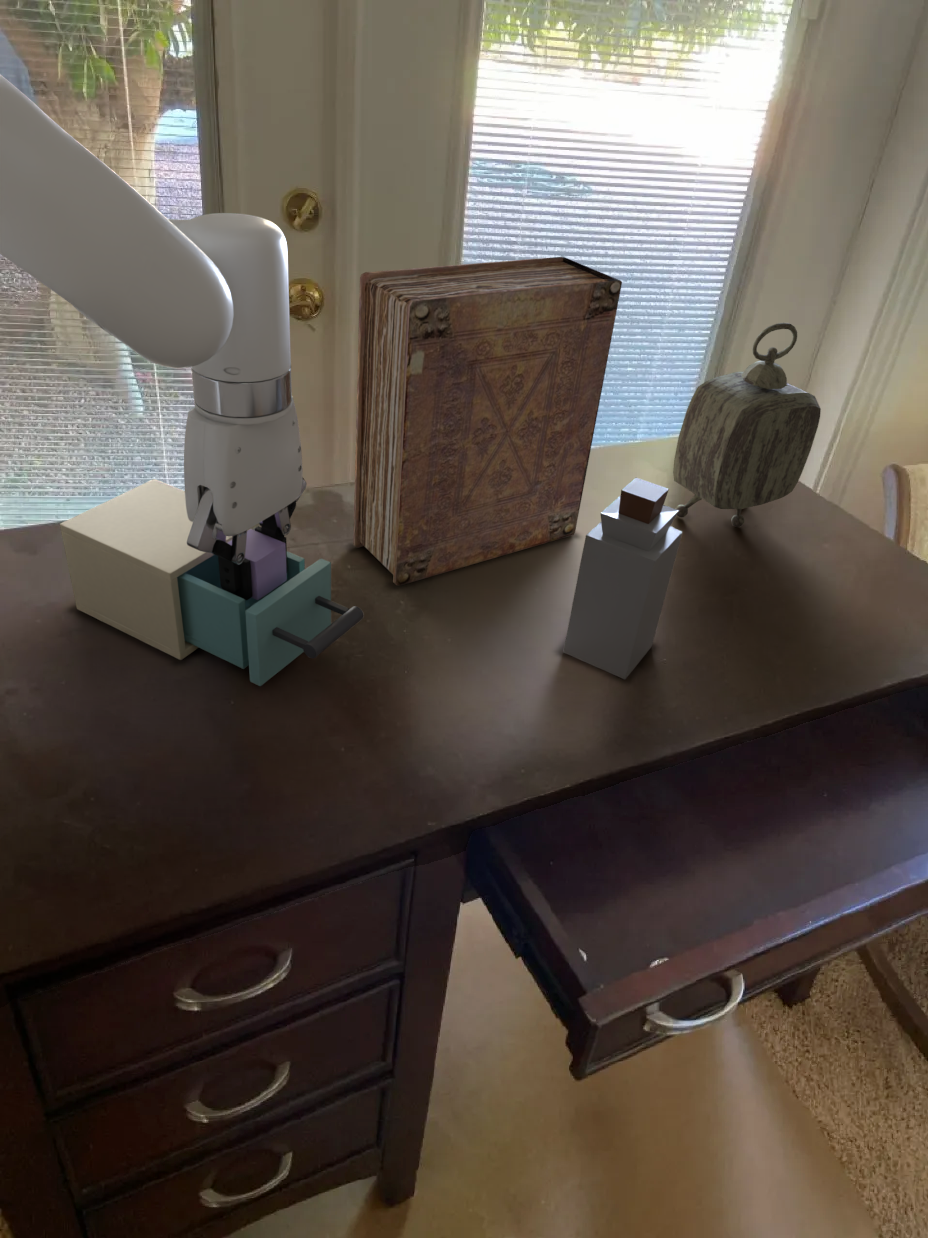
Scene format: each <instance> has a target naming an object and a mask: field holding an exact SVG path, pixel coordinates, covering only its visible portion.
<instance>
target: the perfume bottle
mask: <svg viewBox="0 0 928 1238" xmlns="http://www.w3.org/2000/svg"><path fill="white" fill-rule="evenodd" d="M669 490H670V489H669V488H668V487H665V486H663V485H660V484H657V483H653V482H651V481H648V480H644V479H642V478H640V477H634V478H633V479H632V480H631V481H630V482H629V483H627V484H626V485H625V486H624V487H623V488H622V489H621V490H620V495H619V496H618V497H617V498H615V500H613V501H612V502H611V503H610V504H609V505H607V506H606V507H605V508H604V509H603V510H602V511H600V522H598V523H597V525H596V526H594V528H592V529H591V530H590V531H588V533H586V535H585V539H584V542H583V543H584V544H583V547H582V553H581V559H580V564H579V569H578V574H577V579H576V584H575V590H574V595H573V600H572V604H571V610H570V615H569V620H568V625H567V630H566V635H565V641H564V645H563V649H562V651H563V654H566V655H567V656H568V655H569V656H570V657H573V658H574V659H577V660H579V661H582V662H584V663H586V664H587V665H590V666H593V667H595V668H598V669H599V670H602V671H604V672H607V673H609V674H611V675H612V676H613V675H614V676H615V677H617V678H618V677H619V678H621V679H623V680H626V679H627V678H628V676H629V675H630V674H631V673H632V672H633V671H634V670H635V668H636V667H637V665H638V664H639V663H640V662H641V660H642V659H644V657H645V655H646V654H647V653H648V652H649V651H650V650H651V648H652V647H653V644H654V641H655V636H656V632H657V629H658V625H659V622H660V618H661V614H662V610H663V607H664V603H665V599H666V596H667V592H668V587H669V584H670V581H671V577H672V573H673V569H674V566H675V561H676V559H677V556H678V555H677V554H678V551H679V547H680V543H681V540H682V536H683V533H684V531H683V530H680V529H677V528H675V527H673V526H672V524H673V522H674V520H675V519H676V517H677V513H678V511H679V510H676V508H673V507H671V506H668V505H665V502H666V499H667V496H668V493H669Z"/></svg>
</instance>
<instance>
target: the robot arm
mask: <svg viewBox="0 0 928 1238" xmlns="http://www.w3.org/2000/svg"><path fill="white" fill-rule="evenodd" d="M0 255H1V256H2V257H4V258H5V259H7V260H8V261H10V262H11V263H13V264H14V265H16V267H18V268H20V269H21V270H22V271H24V272H26V273H27V274H28V275H30V276H31V277H32V278H34V279H36V280H37V281H38V282H40V284H42V285H44V286H46V287H47V288H48V289H50V290H51V291H52V292H54V293H55V294H56V295H58V296H59V297H61V298H62V299H63V300H65V301H66V302H67V303H68V304H70V305H72V306H73V308H74V309H75V310H76V311H78V312H79V313H80V314H81V315H82V316H83V317H85V318H86V319H87V320H88V321H90V322H92V323H93V324H95V325H96V326H97V327H99V328H100V329H102V330H103V331H104V332H106V333H107V334H109V335H111V336H113V337H114V338H115V339H117V340H118V341H119V342H121V343H122V344H124V345H125V346H126V347H127V348H129V349H130V350H132V351H133V352H135V353H136V355H138V356H140V357H141V358H143V359H144V360H146V361H147V362H150V363H152V364H154V365H158V366H160V367H164V368H171V369H187V368H190V371H191V382H192V383H191V384H192V392H193V393H192V394H193V402H194V407H193V408H192V409H190V410H189V411H188V412H187V417H186V424H185V431H184V444H183V477H184V478H183V481H184V482H183V485H184V491H185V501H186V510H187V516H188V519H189V520H190V521H191V522H193V524H192V527H191V530H190V533H189V536H188V539H187V545H188V546H190V547H192V548H194V549H197V550H199V551H203V552H208V553H212V554H214V555H216V556H218V562H219V573H220V585H221V588H222V589H223V590H225V591H227V592H230V593H232V594H234V595H236V596H238V597H241V598H243V599H244V600H248V599H250V598H251V597H252V578H251V563H250V560H248V559H246V558H245V552H246V539H247V530H248V529H249V528H251V527H253V526H255V525H256V524H258V523H259V526H258V527H256V528H255V531H257V532H259V533H262V534H264V535H267V536H269V537H271V538H274V539H276V540H279V541H281V542H284V543H285V546H286V573H287V552H288V547H287V546H288V545H287V537H286V536H287V535H288V534H289V533H290V532H291V529H292V525H291V524H292V523H291V518H292V516H293V513H294V512H295V510H296V507H297V503H298V501H299V500H300V498H301V497H302V495H303V493H304V492H305V490H306V488H307V481H306V480H305V478H304V477H303V452H302V440H301V439H302V438H301V432H300V425H299V418H298V413H297V408H296V405H295V400H294V396H293V395H292V394H293V393H292V362H291V361H292V360H291V359H292V357H291V356H292V355H291V326H290V325H291V324H290V323H291V322H290V320H291V319H290V294H289V293H290V291H289V287H290V286H289V255H288V244H287V239H286V236H285V234H284V232H283V230H282V229H281V228H280V227H279V226H278V225H277V224H275V222H273V221H271V220H270V219H269V220H268V219H266V218H264V217H261V216H257V215H252V214H246V213H237V212H236V213H235V212H219V213H218V212H215V213H206V214H202V215H198V216H196V217H193V218H189V219H177V218H176V219H175V218H174V219H173V218H168V217H166V216H165V215H164V214H163V213H162V212H160V211H159V210H158V208H156V207H155V206H154V205H153V204H152V203H151V202H149V200H147V199H146V198H145V197H144V196H143V195H141V194H140V192H138V191H137V190H136V189H135V188H134V187H132V186H131V185H130V183H128V182H127V181H126V180H125V179H123V178H122V177H121V176H120V175H119V174H118V173H116V172H115V171H114V170H113V169H112V168H110V167H109V166H108V165H107V164H106V163H105V162H103V161H102V159H100V158H98V157H97V156H96V155H95V154H94V153H92V152H91V151H90V150H89V149H87V148H86V147H85V146H84V145H83V144H82V143H80V142H79V141H78V140H77V139H75V137H73V136H72V135H71V133H69V132H67V131H66V130H65V129H64V128H62V127H61V126H60V125H59V124H58V123H57V122H56V121H54V120H53V118H51V117H50V116H49V115H48V114H47V113H45V111H44V110H42V109H41V108H40V106H38V105H37V104H36V103H35V102H34V101H33V100H32V99H30V98H29V97H28V96H27V95H26V94H25V93H23V92H22V90H21V89H19V88H18V87H17V86H16V85H14V84H13V83H12V82H11V81H10V80H8V79H7V78H6V77H4V76H3V75H2V74H1V73H0ZM226 536H232V546H231V545H230V544H228V543H226Z"/></svg>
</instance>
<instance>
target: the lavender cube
mask: <svg viewBox="0 0 928 1238" xmlns="http://www.w3.org/2000/svg"><path fill="white" fill-rule="evenodd" d="M228 544H230V545H231V546H232V540H231V541H230V542H228ZM245 558H246V559H248V560H250V563H251V578H252V598H254V599H256V600H259V599H261V598H262V597H263V596H265V595H266V594H268V593H269V592H271V591H272V590H274V589H275V588H276V587H278V586H279V585H281V584H282V583H284V582H285V581H286V580H287V573H286V546H285V543H284V542H281V541H279V540H276V539H274V538H271V537H269V536H267V535H264V534H262V533H259V532H257V531H254V530H252V529H250V530H248V531H247V539H246V552H245Z"/></svg>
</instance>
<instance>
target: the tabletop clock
mask: <svg viewBox="0 0 928 1238" xmlns="http://www.w3.org/2000/svg"><path fill="white" fill-rule="evenodd" d="M778 330H788V331H790V332H791V335H792V339H791V342H790V344H789V345H788V346H787V347H785V348H784V349H783V350H781V351H779V352H778V349H777V348H776V347H774V346H772V347H769V348H768V349H767V352H766V354H762V353H759V352H758V346H759V344H760V342H761V341H762V340H763V339H764V338H765V337H766V335H768V334H770V333H771V332H774V331H778ZM797 340H798V330H797V329H796V327H795V326H794V325H793V324H792V323H789V322H779V323H775V324H772V325H769V326H767V327H766V328H765V329H763V330H762V331H761V332H760V333H759V334H758V335H757V337H756V338H755V340H754V342H753V344H752V355H753V356H754V358H755V359H757V361H755V362H753V363H751V364H750V365H748V366H747V367H746V368H745V369H744V370H743V371H735V372H731V373H727V374H724V375H720V376H716V377H712V378H710V379H708V380H706V381H704V382H703V383H701V384H700V385H698V386H697V388H696V390H695V391H694V393H693V395H692V396H691V399H690V401H689V404H688V406H687V409H686V411H685V415H684V418H683V421H682V425H681V428H680V431H679V434H678V437H677V443H676V448H675V455H674V459H673V468H672V474H673V475H672V476H673V481H674V482H675V483H677V484H678V485H680V486H682V487H683V488H684V489H686V490H687V491H689V492H691V493H692V494H693V496H692V497H691V499H689V501H687V503H685V504H678V505H677V506H676V507H675V509H676V510H679V511H678V513H677V515H676V517H678V518H685V517H686V516H687V515H688V514H689V508H690V507H692V506H693V505H695V504H696V503H697V502H699V501H701V500H703V501H705V502H707V503H708V504H709V505H711V506H713V507H714V508H717V509H720V510H735V513H736V514H734V515H733V516H732V517H731V521H730V522H731V525H732V527H735V528H740V527H743V526H744V524H745V522H746V521H745V517H744V515H742V510H743V509H747V508H748V509H749V508H753V507H757V506H762V505H765V504H768V503H771V502H774V501H777V500H779V499H783V498H784V497H786V496H788V495H789V494H790V493H792V492H793V491H794V490H795V488H796V486H797V484H798V482H799V480H800V478H801V476H802V474H803V471H804V469H805V466H806V463H807V460H808V458H809V455H810V453H811V451H812V447H813V445H814V442H815V441H814V440H815V438H816V434H817V431H818V428H819V424H820V420H821V412H822V411H821V410H822V409H821V406H820V404H819V402H818V399H817V398H816V396H815V395H813V394H812V393H810V392H808V391H805V390H803V389H801V388H799V387H797V386H795V385H793V384H790V383H788V379H787V374H786V372H785V370H784V369H783V367H782V366H781V364H779V363H777V362H776V360H778V359H781V358H783V357H784V356H787V355H788V354H789V353H790V352H791V350H792V349H793V348H794V347H795V345H796V343H797Z"/></svg>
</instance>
